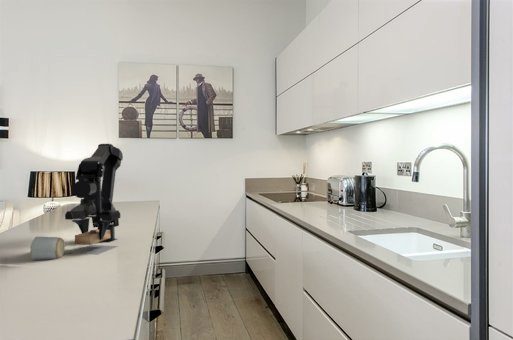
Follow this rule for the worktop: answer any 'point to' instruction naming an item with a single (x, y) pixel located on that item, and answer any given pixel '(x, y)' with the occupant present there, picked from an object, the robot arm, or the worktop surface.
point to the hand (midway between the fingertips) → (93, 239)
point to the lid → (91, 237)
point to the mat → (93, 249)
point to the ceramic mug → (47, 248)
